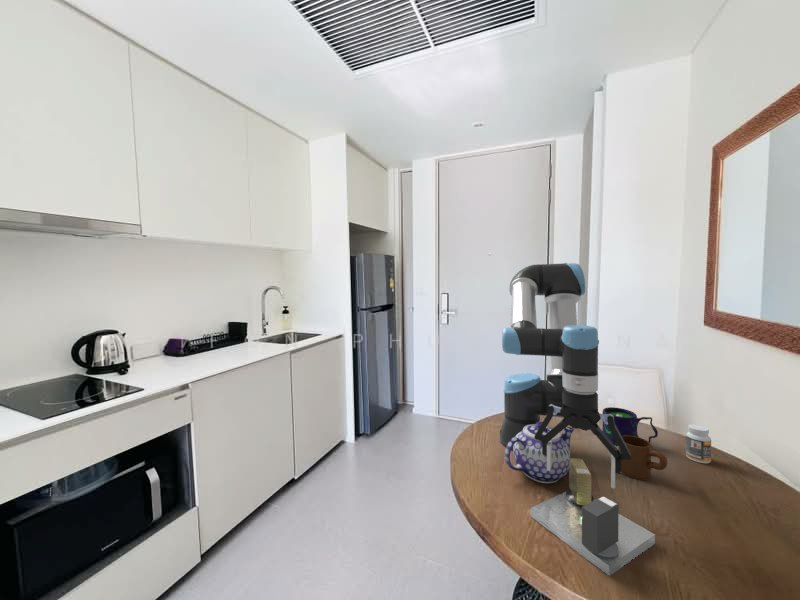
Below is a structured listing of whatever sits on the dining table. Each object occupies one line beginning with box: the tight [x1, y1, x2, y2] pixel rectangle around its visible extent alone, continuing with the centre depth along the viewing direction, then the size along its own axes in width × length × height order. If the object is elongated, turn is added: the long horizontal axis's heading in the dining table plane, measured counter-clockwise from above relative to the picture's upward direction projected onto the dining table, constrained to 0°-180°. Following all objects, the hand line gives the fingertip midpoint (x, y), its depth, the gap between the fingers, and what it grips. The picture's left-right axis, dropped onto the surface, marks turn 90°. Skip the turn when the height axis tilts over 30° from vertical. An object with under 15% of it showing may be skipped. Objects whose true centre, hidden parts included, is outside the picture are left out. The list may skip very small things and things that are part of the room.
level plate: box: [529, 491, 656, 577], centre depth 72 cm, size 18×16×3 cm
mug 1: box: [602, 406, 659, 446], centre depth 110 cm, size 15×10×10 cm, turn 48°
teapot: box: [504, 421, 575, 484], centre depth 93 cm, size 25×15×15 cm, turn 109°
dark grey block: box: [582, 495, 620, 558], centre depth 64 cm, size 7×6×8 cm
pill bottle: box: [685, 424, 712, 464], centre depth 99 cm, size 6×6×10 cm
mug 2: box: [618, 435, 668, 481], centre depth 90 cm, size 12×8×9 cm, turn 21°
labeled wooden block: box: [565, 457, 595, 506], centre depth 79 cm, size 7×6×8 cm
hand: (579, 476), depth 78 cm, fingers open, 13 cm apart
